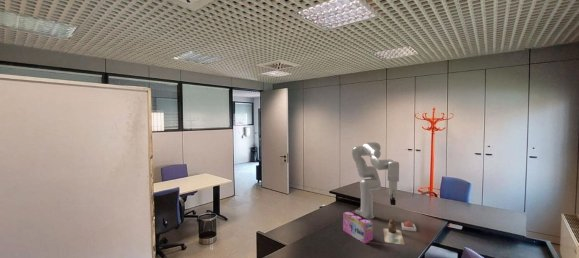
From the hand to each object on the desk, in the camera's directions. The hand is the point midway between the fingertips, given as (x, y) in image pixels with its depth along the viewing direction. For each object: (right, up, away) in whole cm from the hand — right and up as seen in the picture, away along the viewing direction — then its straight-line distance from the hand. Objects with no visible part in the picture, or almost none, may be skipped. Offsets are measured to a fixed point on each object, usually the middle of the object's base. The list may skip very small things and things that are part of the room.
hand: (392, 203), depth 182 cm
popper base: (+14, -21, +7) cm, 26 cm away
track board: (-2, -21, -6) cm, 22 cm away
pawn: (0, -20, +1) cm, 20 cm away
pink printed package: (-26, -22, -3) cm, 34 cm away
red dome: (+14, -20, +7) cm, 26 cm away
